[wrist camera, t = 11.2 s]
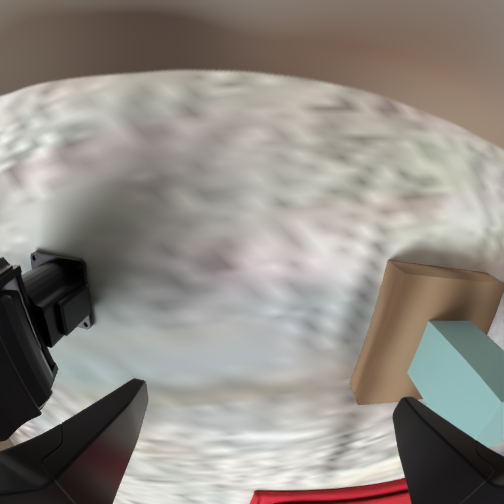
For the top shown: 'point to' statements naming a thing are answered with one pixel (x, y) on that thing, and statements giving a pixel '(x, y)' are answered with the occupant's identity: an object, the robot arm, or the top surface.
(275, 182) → the top surface
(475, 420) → the teal block
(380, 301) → the walnut base
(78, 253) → the top surface
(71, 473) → the robot arm
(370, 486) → the dish drying mat
